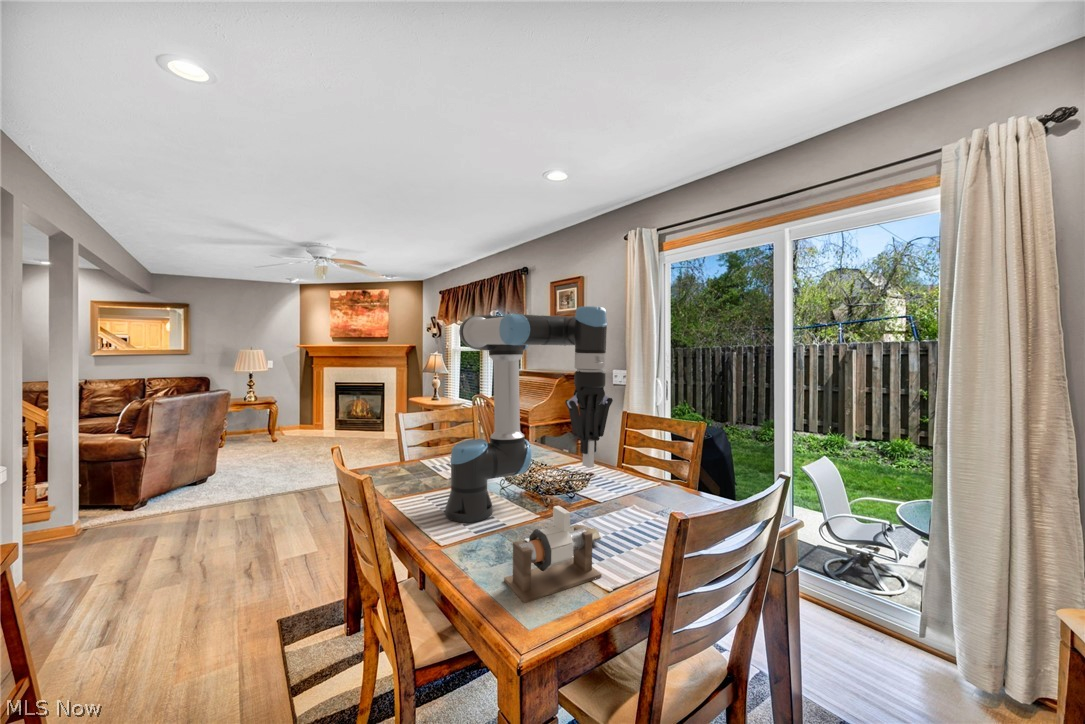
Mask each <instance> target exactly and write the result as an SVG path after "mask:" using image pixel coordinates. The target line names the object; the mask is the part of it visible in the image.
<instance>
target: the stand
mask: <svg viewBox="0 0 1085 724" xmlns="http://www.w3.org/2000/svg"><path fill="white" fill-rule="evenodd" d="M582 528H583V527H582V526H577V527H574V530H578V529H582ZM584 529H585V528H584ZM585 530H586V532H582V533H583V535H584V539H585V546H584V548H582V549H579V550H575V551H573V558H572V559H571V560H570V561H569V562H567V563H564V564H560V565H557V566H554V567H550V568H547V569H546V570H545V571H541V570H540V569H539V568H538V567H536V568H532V563H531V549H530V548H529V547H524V548H521V547H520V546H519V545H520V544H523V543H524V542H523V541H522V540H519V541H515V542H512V574H511V575H508V576H505V577H503V581H504V582H505V583H506V585H507V586H508V587H509V588H510V589H511V590H512V591H513V592H514V594H515V595H517V596H518V598H519V599H520V600H521V601H522V602H523V604H526V603H527V602H531V601H534V600H537V599H539V598H544V597H546V596H548V595H551V594H555V593H559V592H561V591H564V590H568V589H570V588H574V587H576V586H579V585H582V584H585V583H588V582H591V581H594V580H593V579H595V578H598V579H600V578H599V577H601V578H602V573H601V572H600V571H598V570H597V569H596V568H595V567H593V542H592V534H593V533H591V532H590V531H588V530H587V529H585ZM595 580H596V579H595Z"/></svg>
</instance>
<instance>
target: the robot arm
mask: <svg viewBox="0 0 1085 724" xmlns="http://www.w3.org/2000/svg"><path fill="white" fill-rule="evenodd" d="M607 326H608V322H607V310H606V308H604V307H602V306H594V305H592V306H579V307H577V308H576V309H575V314H574V316H572V315H571V316H567V315H566V316H564V315H561V316H560V315H544V314H543V315H539V314H538V315H535V314H522V313H512V314H511V313H509V314H505V315H487V314H480V315H478V314H477V315H472V316H469V317H467V318H466V319H465V320H464V319H463V321H462V323H460V326H459V330H458V331H459V332H458V333H459V338H460V340H461V342H462V343H463V344H464V345H465V346H466V347H468V348H469V349H473V350H478V351H488V357H489V358H490V359H492V361H493V400H494V401H493V402H494V403H493V405H494V406H493V409H494V411H493V412H494V418H493V419H494V431H493V433H491V435H490V436H489V439H490V441H489V443H488V441H487V440H486V439H483V438H476V439H475V438H473V439H472V438H471V439H467V440H463V441H460V442H458V443H456V444H455V445H454V446H453V447H452V448H451V451H450V452H451V454H450V456H451V457H450V460H449V461H450V493H449V494H448V495H449V496H448V499H447V502H446V505H445V517H446V518H447V519H448V520H450V521H453V522H457V523H475V522H481V521H483V520H486V519H488V518H490V517H491V516H492V515H493V503H492V500H491V496H490V493H489V490H488V480H492V479H499V478H504V477H514V476H518V475H521V474H524V473H525V472H527V471H528V469H529V468H530V465H531V463H532V457H533V456H532V455H533V453H532V452H533V451H532V447H531V443H530V442H529V441H528V440H527V439H525V434H524V433H522V431H521V422H520V421H521V417H520V416H521V413H520V412H521V410H520V405H521V403H520V360H521V358H522V357H523V356H524V351H526V350H527V349H528V348H529V346H565V347H566V346H574V369H575V372H574V379H573V380H574V381H573V382H574V383H573V384H574V387H575V390H574V392H573V396H572V397H571V398H570V399H566V400H565V402H564V403H565V405H566V407H567V409H568V413H569V418H570V423H571V428H572V434H573V437H574V438H575V439H578V440H580V453H581V454H582V466H584V467H587V468H588V469H590V468H595V453H596V452H597V441H598V442H599V440H601V439H600V437H604V434H605V429H606V425H607V420H608V415H609V410H610V407H611V405H612V403H613V401H614V400H613V398H612V397H609V396H607V395H606V391H605V389H604V388H605V387H606V373H605V371H604V370H605V369H606V367H607V366H606V363H607V362H606V361H607V352H606V350H607V332H608V331H607V330H608V329H607Z"/></svg>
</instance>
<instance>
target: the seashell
mask: <svg viewBox="0 0 1085 724" xmlns="http://www.w3.org/2000/svg"><path fill="white" fill-rule="evenodd" d="M577 526H582V527H583V528H585V529H587V530H588V531H590V532H591V533H593V534H592V543H593V542H594V541H601V539H602V537H601V535H600V533H599V530H598V528H592V527H589V526H587V525H584V524H575V525H570V531H574V527H577ZM570 531H569V532H570Z"/></svg>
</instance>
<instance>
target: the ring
mask: <svg viewBox="0 0 1085 724" xmlns="http://www.w3.org/2000/svg"><path fill="white" fill-rule="evenodd" d="M540 530H541V529H538V528H535V529H534V530H533V531H532V532H531V534H530V535H529V539H528V542H529V541H532V540H535V538H536V537H538V538H540V539H541V541H542V544H543V547H544V550H545V562H544V563H542V562H540V561H539V562H535V563H533V565H534V566H536V568H539V569H540V570H541V571H545V570H546V569H547V568H548V567H549V566H550V564H551V548H550V545H549V543H548V540H547V537H546V535H545V534H544V533H542V532H541V531H540Z"/></svg>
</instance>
